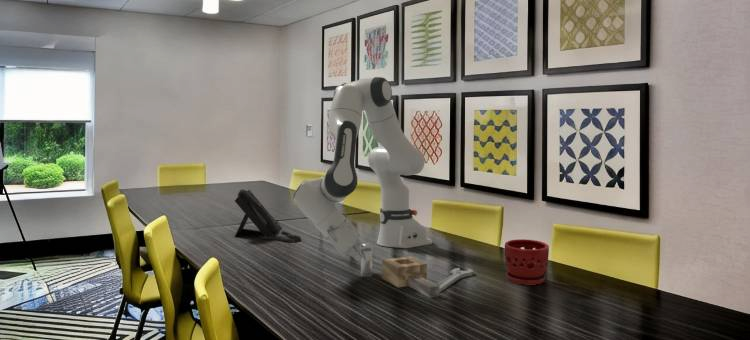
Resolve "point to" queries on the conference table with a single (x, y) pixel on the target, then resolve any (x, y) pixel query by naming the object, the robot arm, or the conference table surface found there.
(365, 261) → the clear glass bottle
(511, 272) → the plant pot
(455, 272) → the adjustable wrench
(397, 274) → the mortise block
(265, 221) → the office phone
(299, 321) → the conference table surface
